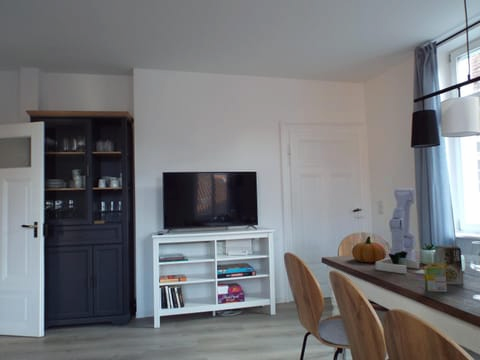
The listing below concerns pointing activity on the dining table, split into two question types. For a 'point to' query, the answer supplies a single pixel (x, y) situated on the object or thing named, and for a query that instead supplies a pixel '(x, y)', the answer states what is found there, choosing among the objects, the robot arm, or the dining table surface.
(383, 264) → the open side box
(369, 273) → the dining table surface
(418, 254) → the dining table surface
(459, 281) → the coffee box
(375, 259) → the pumpkin
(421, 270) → the grey pad
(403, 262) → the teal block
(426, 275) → the crayon box
